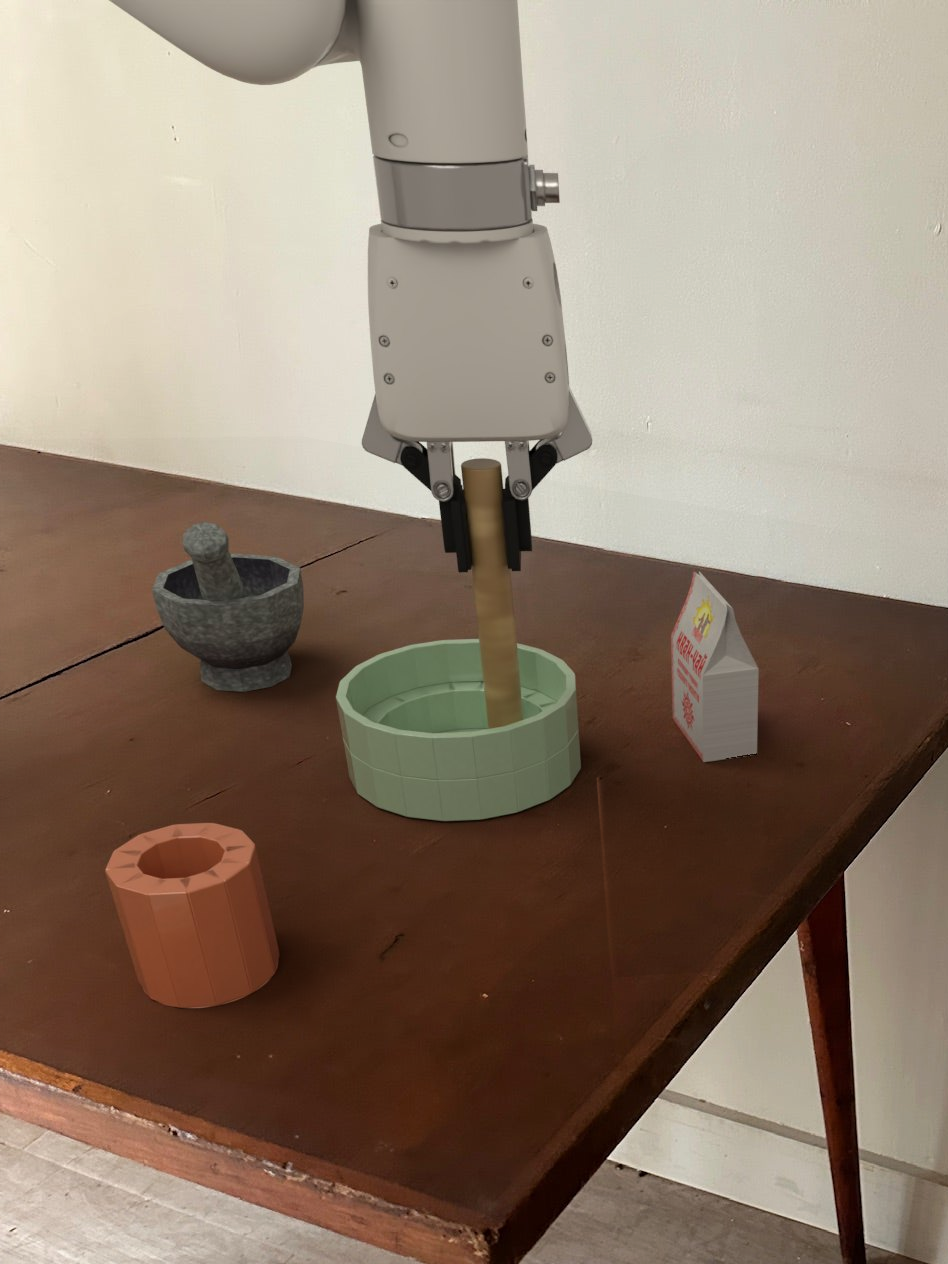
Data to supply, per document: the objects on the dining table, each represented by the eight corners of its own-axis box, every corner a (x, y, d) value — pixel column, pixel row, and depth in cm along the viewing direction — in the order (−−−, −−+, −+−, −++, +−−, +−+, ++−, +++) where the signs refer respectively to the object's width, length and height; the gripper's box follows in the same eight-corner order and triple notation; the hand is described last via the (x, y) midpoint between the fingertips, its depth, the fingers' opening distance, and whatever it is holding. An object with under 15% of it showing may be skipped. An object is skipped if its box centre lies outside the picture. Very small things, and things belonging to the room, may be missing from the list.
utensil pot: (130, 1019, 69) (91, 897, 65) (158, 943, 75) (124, 825, 70) (270, 1011, 70) (241, 890, 66) (288, 936, 75) (262, 819, 71)
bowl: (340, 835, 84) (323, 741, 80) (363, 728, 95) (349, 642, 91) (584, 824, 86) (578, 732, 82) (578, 720, 97) (573, 635, 93)
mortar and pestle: (187, 649, 105) (147, 481, 97) (319, 643, 106) (290, 477, 99) (165, 715, 96) (120, 536, 89) (310, 707, 97) (277, 530, 90)
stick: (489, 753, 88) (459, 469, 78) (490, 737, 90) (461, 458, 80) (525, 751, 89) (500, 469, 78) (525, 735, 90) (501, 457, 80)
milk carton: (723, 711, 98) (724, 568, 92) (756, 754, 93) (759, 605, 87) (672, 718, 97) (669, 573, 91) (703, 762, 92) (702, 612, 86)
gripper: (612, 189, 75) (626, 539, 86) (300, 186, 73) (354, 544, 85) (619, 211, 69) (632, 584, 80) (279, 209, 67) (341, 591, 79)
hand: (490, 561), depth 82 cm, fingers closed on stick, 2 cm apart
